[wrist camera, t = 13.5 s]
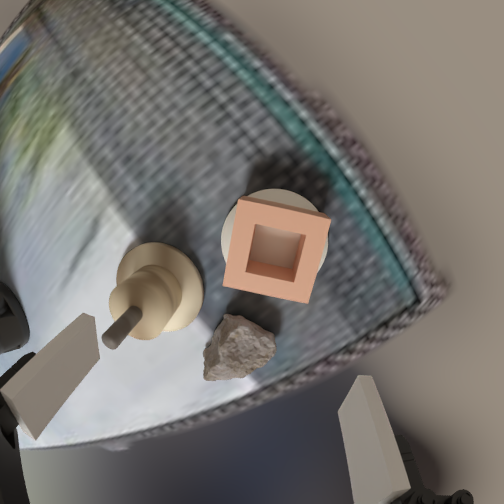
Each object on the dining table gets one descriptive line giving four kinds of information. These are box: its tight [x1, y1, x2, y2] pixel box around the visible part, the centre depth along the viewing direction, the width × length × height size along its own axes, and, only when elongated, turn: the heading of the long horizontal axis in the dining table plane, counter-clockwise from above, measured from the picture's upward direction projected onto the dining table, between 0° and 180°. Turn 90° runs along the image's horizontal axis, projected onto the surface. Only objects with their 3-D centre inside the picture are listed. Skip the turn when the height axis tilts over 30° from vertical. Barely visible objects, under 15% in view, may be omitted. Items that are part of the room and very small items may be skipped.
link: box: [223, 196, 331, 304], centre depth 29 cm, size 9×9×4 cm
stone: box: [203, 314, 276, 381], centre depth 33 cm, size 8×10×6 cm
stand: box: [102, 242, 204, 349], centre depth 28 cm, size 12×12×13 cm
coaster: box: [221, 189, 328, 272], centre depth 31 cm, size 12×12×1 cm
